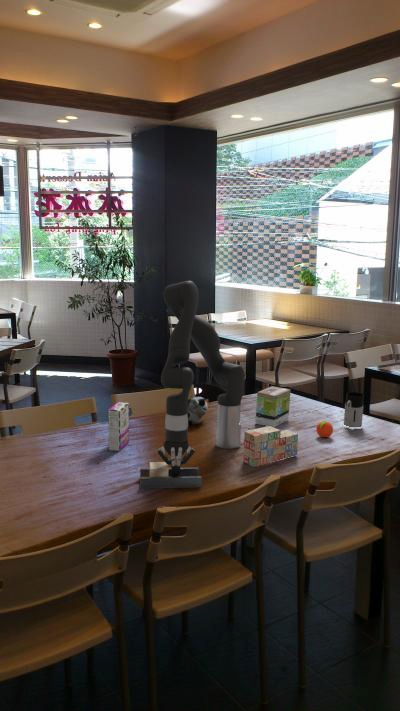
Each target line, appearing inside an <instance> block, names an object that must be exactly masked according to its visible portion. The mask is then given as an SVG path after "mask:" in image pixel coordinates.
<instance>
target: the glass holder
mask: <svg viewBox="0 0 400 711" xmlns="http://www.w3.org/2000/svg"><path fill="white" fill-rule="evenodd" d="M364 397H365V395H364V393H361V392H358V391H355V392H354V391H350V392H346V395H345V403H344V414H343V416H344V417H343V424H344V425H346V426H349V427H361V426H362V427H363V414H364V401H365V400H364Z"/></svg>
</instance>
